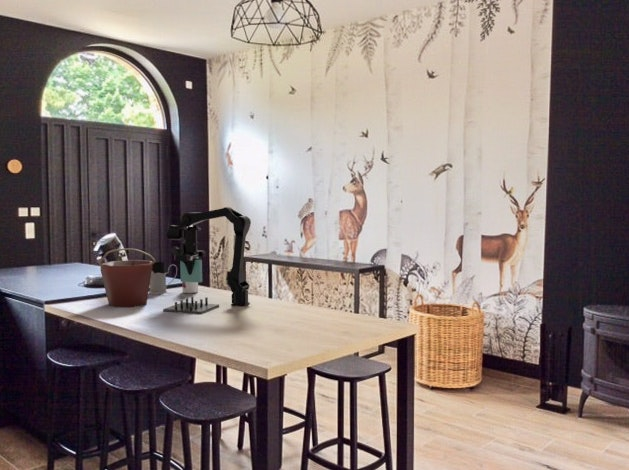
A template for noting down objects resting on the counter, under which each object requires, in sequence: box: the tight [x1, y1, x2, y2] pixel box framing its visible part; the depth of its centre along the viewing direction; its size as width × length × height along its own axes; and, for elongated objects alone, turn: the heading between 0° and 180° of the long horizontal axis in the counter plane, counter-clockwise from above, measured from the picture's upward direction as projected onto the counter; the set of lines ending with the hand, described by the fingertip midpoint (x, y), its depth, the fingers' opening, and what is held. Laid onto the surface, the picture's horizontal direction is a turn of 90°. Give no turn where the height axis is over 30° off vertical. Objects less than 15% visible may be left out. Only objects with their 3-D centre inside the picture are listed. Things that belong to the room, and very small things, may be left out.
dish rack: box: [162, 296, 220, 315], centre depth 249 cm, size 18×16×4 cm
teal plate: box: [179, 259, 203, 283], centre depth 264 cm, size 10×2×10 cm, turn 72°
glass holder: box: [148, 261, 178, 295], centre depth 291 cm, size 9×14×15 cm, turn 115°
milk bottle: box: [181, 282, 199, 294], centre depth 291 cm, size 8×8×20 cm
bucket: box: [96, 247, 156, 308], centre depth 262 cm, size 24×22×25 cm
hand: (191, 274), depth 264 cm, fingers closed on teal plate, 2 cm apart
